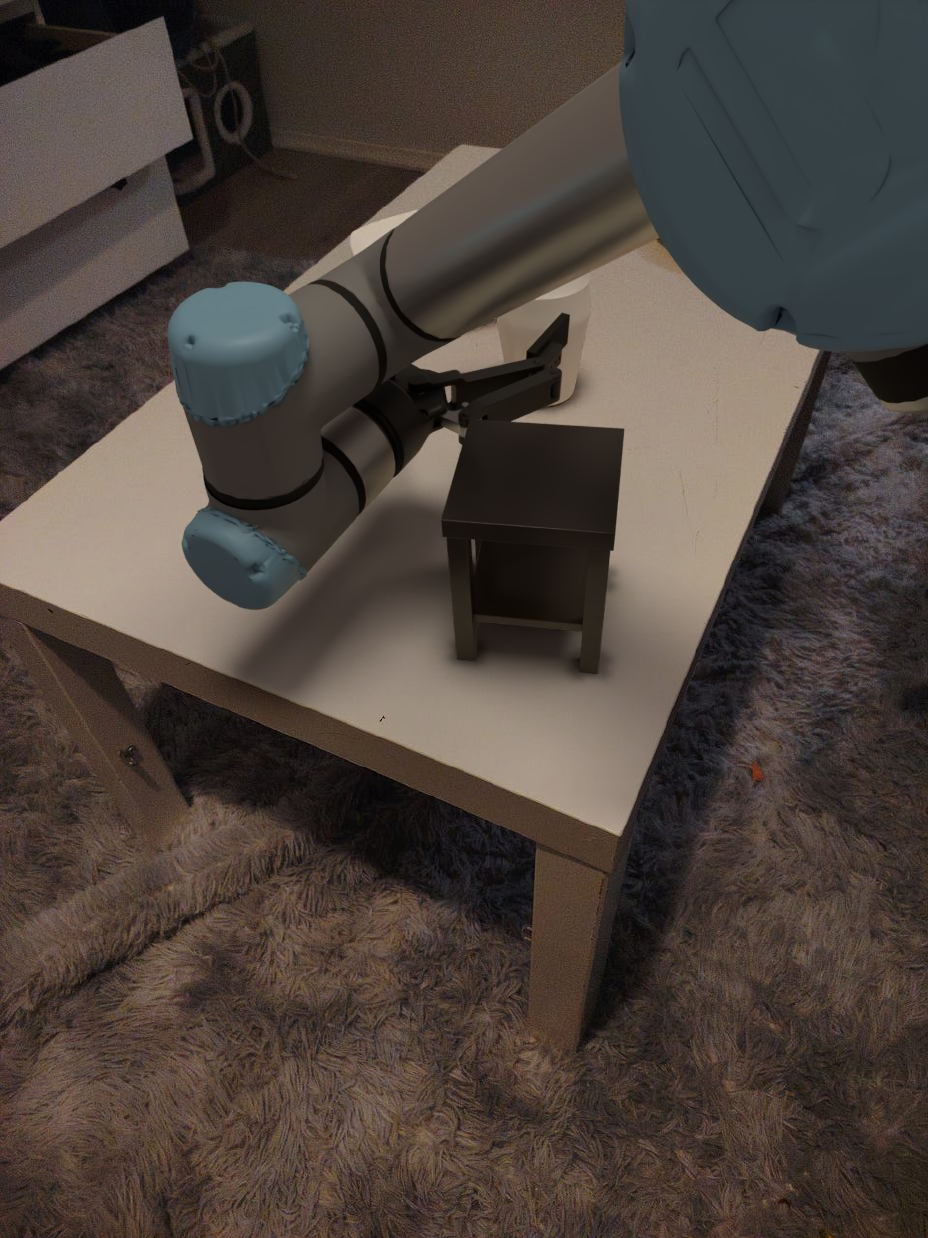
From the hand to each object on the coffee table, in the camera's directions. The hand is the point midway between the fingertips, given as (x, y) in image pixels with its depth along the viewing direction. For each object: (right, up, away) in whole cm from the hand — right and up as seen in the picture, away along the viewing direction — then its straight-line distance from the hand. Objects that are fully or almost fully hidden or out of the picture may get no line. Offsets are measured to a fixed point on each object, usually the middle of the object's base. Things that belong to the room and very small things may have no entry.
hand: (493, 307), depth 77 cm
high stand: (+3, -27, -8) cm, 28 cm away
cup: (+5, -4, +13) cm, 15 cm away
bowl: (-4, +12, +29) cm, 31 cm away
